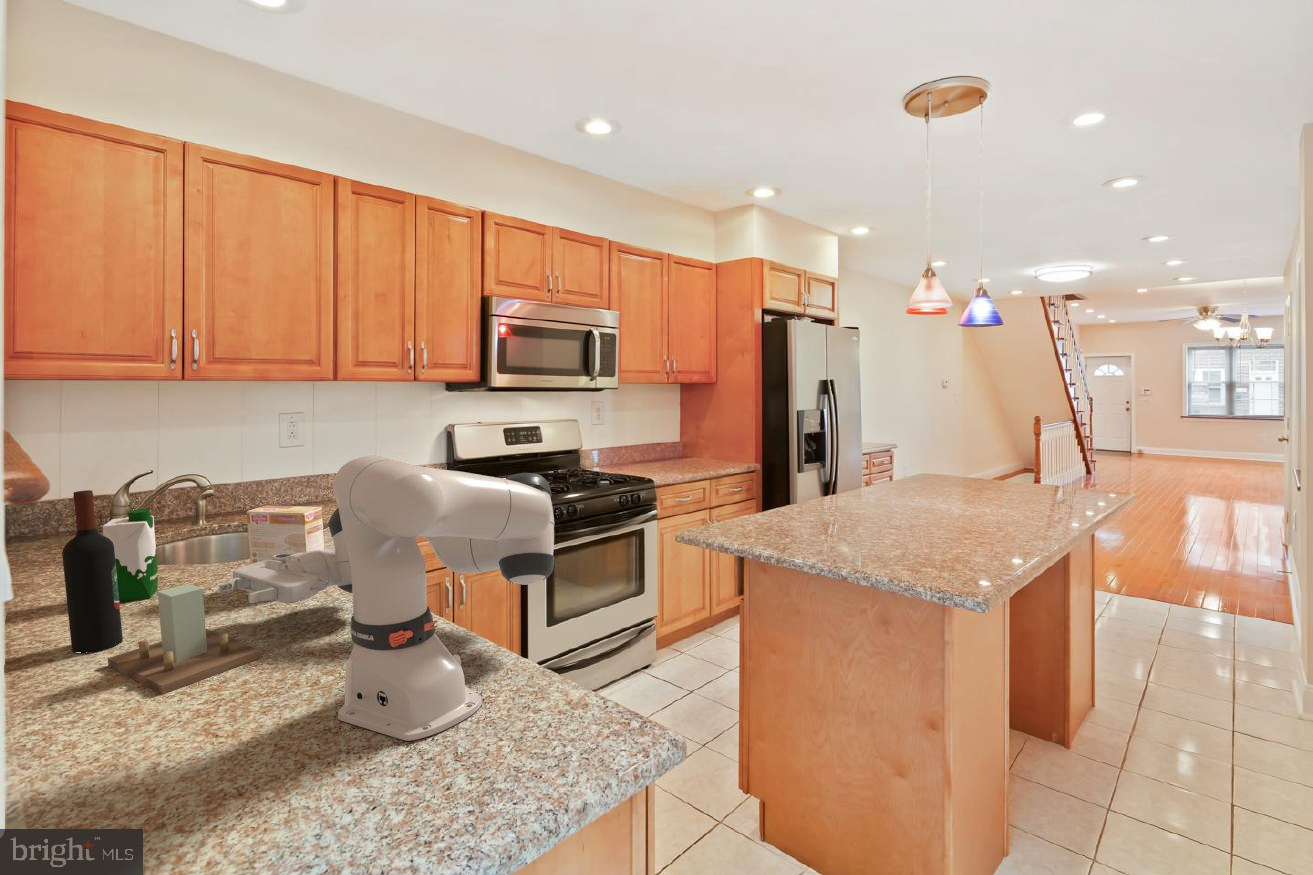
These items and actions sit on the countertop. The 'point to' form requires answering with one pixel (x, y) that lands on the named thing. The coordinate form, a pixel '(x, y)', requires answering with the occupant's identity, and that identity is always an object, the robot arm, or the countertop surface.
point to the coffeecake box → (283, 531)
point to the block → (182, 621)
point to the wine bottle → (91, 583)
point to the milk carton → (134, 554)
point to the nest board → (182, 662)
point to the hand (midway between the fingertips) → (233, 594)
